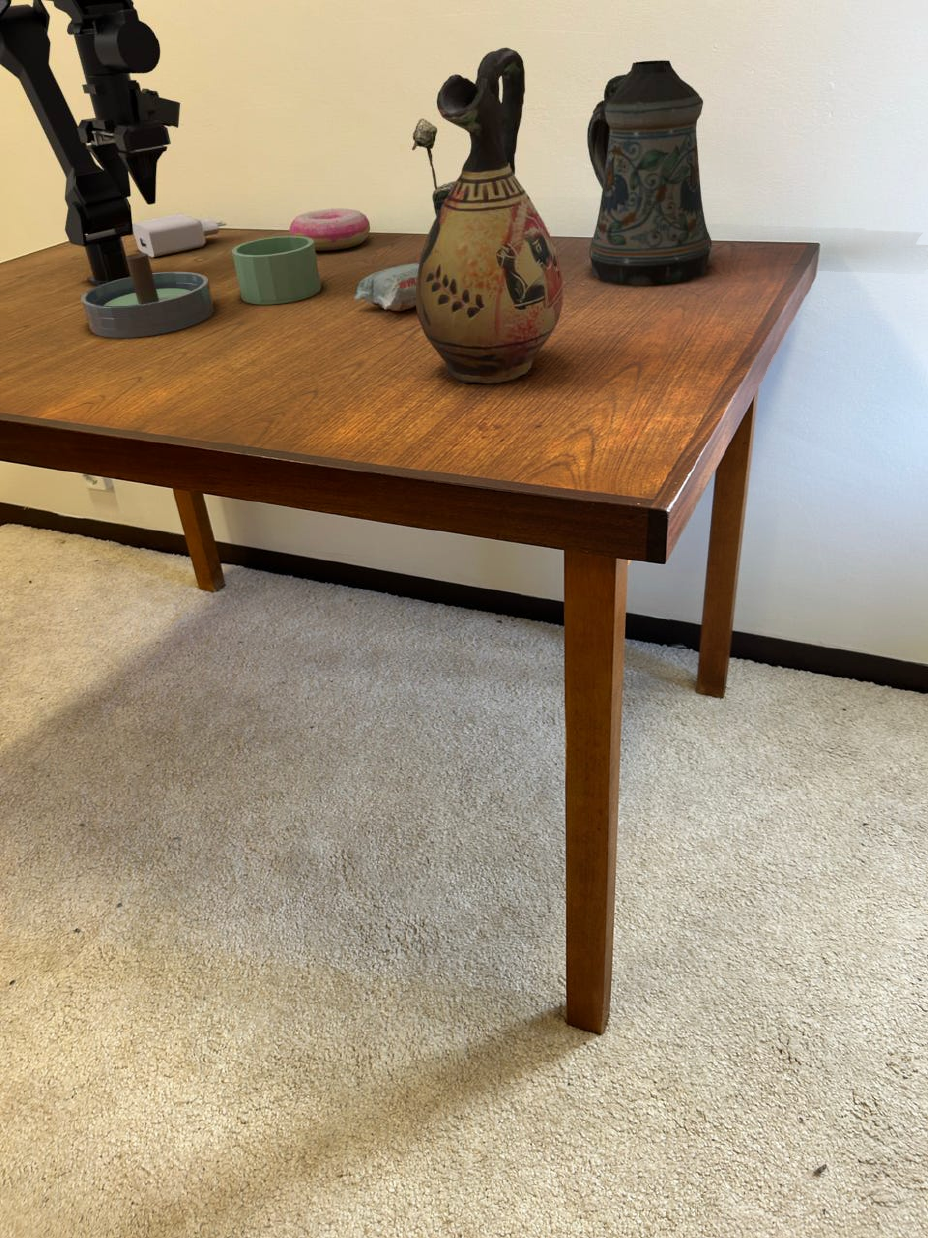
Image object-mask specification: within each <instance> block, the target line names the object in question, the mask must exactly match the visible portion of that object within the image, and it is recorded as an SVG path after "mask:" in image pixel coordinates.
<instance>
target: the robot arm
mask: <svg viewBox="0 0 928 1238" xmlns="http://www.w3.org/2000/svg"><path fill="white" fill-rule="evenodd" d="M46 1H47V2H48V1H49V2H53V3H52V4H53V6H54V8H55V9H57V10H59V11H60V12H61V11H62V12H63V13H65V14H66V15H67V16H68V17H69V18H70V21H69V23H68V24H67V28H66V33H67V34H68V35H69V36H73V38H74V41H75V45H76V49H77V53H78V56H79V60H80V64H81V69H82V71H83V76H84V79H85V84H84V83H83V84H82V85H81V86H82V91H83V94H88V95H89V97H90V102H91V105H92V109H93V113H94V116H95V117H91V118H85V119H84V118H83V119H81V120H80V122H79V124H78V123H77V121H76V118H75V117H74V115H73V112H72V111H71V108H70V106H69V104H68V102H67V99H66V98H65V95H64V93H63V91H62V89H61V87H60V85H59V83H58V80H57V78H56V76H55V75H54V72H53V70H52V68H51V65H50V55H51V46H52V44H51V39H50V37H49V34H48V33H49V28H50V27H49V26H50V21H51V15H50V13H49V11H48V9H47V8H46V6H45V4H44V2H43V0H32V6H31V5H30V4H29V3H28V4H16V5H12V2H13V1H12V0H0V66H1V67H2V68H4V69H6V71H8V72H9V73H10V74H11V75H13V76H14V77H16V78H17V80H18V81H19V82H20V85H21V87H22V89H23V91H24V94H25V95H26V97H27V98H28V101H29V103H30V105H31V107H32V110H33V112H34V114H35V116H36V118H37V120H38V122H39V124H40V126H41V128H42V131H43V132H44V134H45V136H46V138H47V141H48V143H49V145H50V147H51V149H52V151H53V153H54V155H55V157H56V159H57V162H58V163H59V166H60V168H61V170H62V172H63V174H64V176H65V188H64V189H65V190H64V201H65V204H66V207H67V211H66V213H67V214H66V219H65V226H64V232H65V234H66V236H67V238H68V241H69V243H70V245H75V246H79V247H82V248H84V250H85V253H86V256H87V260H88V263H89V267H90V270H91V273H92V275H91V276H87V277H86V281H87V282H89V283H91V284H92V285H95V286H96V287H97V286H100V285H102V284H105V283H108V282H112V281H115V280H119V279H123V278H127V277H131V274H130V270H129V267H128V263H127V259H126V257H127V254H126V250H125V246H124V242H123V239H122V237H123V238H124V237H127V236H133V235H134V231H133V225H132V223H133V215H132V206H131V203H130V201H129V199H128V198H130V197H131V196H132V193H131V191H132V190H131V181H130V177H131V180H132V181H133V182H134V184H135V186H136V188H137V189H138V191H139V194H140V195H141V196H142V198H143V200H144V202H145V203H146V204H147V205H149V206H150V205H155V204H156V201H157V199H156V198H157V197H156V196H157V194H156V193H157V169H158V162H159V160H160V158H161V157H162V155H163V153H164V152H167V150H168V146H169V145H172V142H171V138H170V134H169V133H170V132H169V129H168V127H174V128H175V129H176V128H179V124H180V113H181V102H179V101H176V100H172V99H168V98H165V97H160V96H159V95H160V94H159V92H158V91H157V90H151V89H149V88H142V89H141V84H140V83H139V82H138V80H137V79H131V78H132V77H131V74H148V73H150V72H152V71H153V70H155V69H156V67H157V66H158V64H159V62H160V58H161V44H160V41H159V38H158V37H157V36H156V34H155V32H154V31H153V30H152V28H151V27H150V26H149V25H148V24H147V23H145V22H144V21H141V20H140V17H139V13H138V10H137V9H136V8H135V6H134V1H133V0H46ZM96 162H97V163H98V164H99V165H98V164H97V163H96Z"/></svg>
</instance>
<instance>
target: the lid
mask: <svg viewBox="0 0 928 1238" xmlns="http://www.w3.org/2000/svg"><path fill="white" fill-rule="evenodd" d="M126 259H127V263H128V267H129V270H130V274H131V278H132V282H133V285H134V289H135V293H132V294H128V295H124V296H121V297H118V298H116V299H113V300H111V301H109V302H108V303H106V304H105V305H104V306H130V305H139V304H146V303H152V302H157V301H162V300H166V299H170V298H174V297H178V296H180V295H183V294H186V293H189V292H191V291H189V290H185V289H177V288H166V289H156V286H155V282H154V278H153V274H152V273H153V270H152V267H151V266H152V265H151V263H150V259H149V255H148V254H146V253H143V252H137V253H133V254H128V255H126Z"/></svg>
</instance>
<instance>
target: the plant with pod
mask: <svg viewBox="0 0 928 1238" xmlns="http://www.w3.org/2000/svg"><path fill="white" fill-rule="evenodd" d="M437 133H438V128H437V126H435V125H433V124H432V122H430V121H429V120H427V119H425V118H420V119H418V122H417V123H416V126H415V129H414V131H413V133H412V140H413V141H414V142H413V146H412V148H411V150H412V151H415V150H416V149H417V147H419V148H424V149H426V151H427V156H428V161H429V165H430V167H431V172H432V179H433V185H434V190H433V192H432V195H431V197H432V202H433V208H434V214H435V218H436V217H437V215H438V213H439V211H440V208H441V206H442V205H443V203H444V201H445V199H446V198H447V196H448V194H449V192H450V190H451V188H452V187H453V185H454V184H455V182H456V180H454V181H450V182H447V183H443V184H441V185H440V186H438V185H437V177H436V171H435V168H434V164H433V153H432V149H434V146H435V142H436V137H437Z"/></svg>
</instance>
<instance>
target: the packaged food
mask: <svg viewBox="0 0 928 1238" xmlns="http://www.w3.org/2000/svg"><path fill="white" fill-rule="evenodd" d="M418 268H419V263H416V262H415V263H407V264H400V265H396V266H393V267H388V268H385V269H383V270H379V271H376V272H373V273H372V274H370V275H368V276H366V277H364V278H363V279H362V280H360V281H359V283H358V286H357V287H356V288H355V294H354V300H355V301H356V302H359V301H360V300H364V301H365V302H367V303H371V304H372V305H374V306H377V307H379V308H382V309H384V310H389V311H393V312H402V311H405V310H410V309H414V308H415V309H416V301H415V295H416V281H417V274H418Z"/></svg>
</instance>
